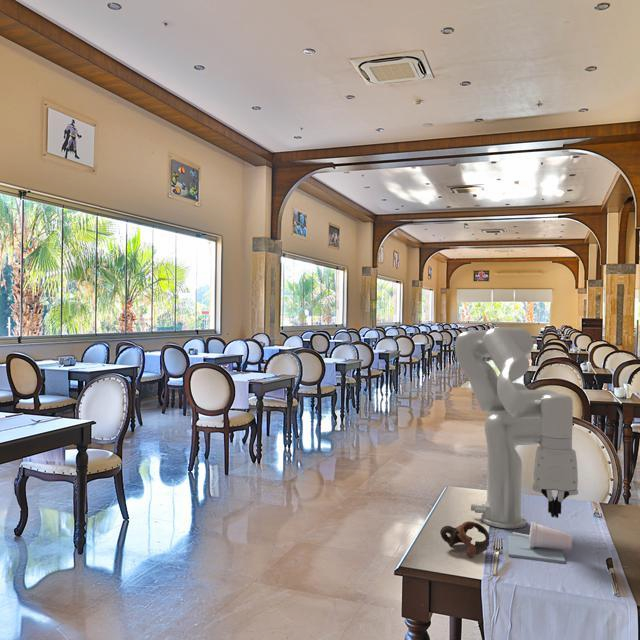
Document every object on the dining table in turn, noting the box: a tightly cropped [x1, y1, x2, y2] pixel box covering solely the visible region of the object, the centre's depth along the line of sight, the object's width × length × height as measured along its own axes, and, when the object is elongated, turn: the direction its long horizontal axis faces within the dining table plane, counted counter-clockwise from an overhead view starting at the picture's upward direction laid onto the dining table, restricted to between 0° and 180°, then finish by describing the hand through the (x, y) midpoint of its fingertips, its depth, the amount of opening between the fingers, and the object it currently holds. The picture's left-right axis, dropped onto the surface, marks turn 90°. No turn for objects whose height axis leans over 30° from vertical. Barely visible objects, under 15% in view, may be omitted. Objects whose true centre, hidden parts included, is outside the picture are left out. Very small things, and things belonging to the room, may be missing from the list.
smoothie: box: [512, 521, 573, 550], centre depth 154 cm, size 6×6×14 cm
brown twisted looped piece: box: [440, 521, 490, 559], centre depth 152 cm, size 12×10×8 cm
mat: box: [507, 534, 566, 564], centre depth 154 cm, size 13×14×1 cm
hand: (554, 515), depth 153 cm, fingers closed
